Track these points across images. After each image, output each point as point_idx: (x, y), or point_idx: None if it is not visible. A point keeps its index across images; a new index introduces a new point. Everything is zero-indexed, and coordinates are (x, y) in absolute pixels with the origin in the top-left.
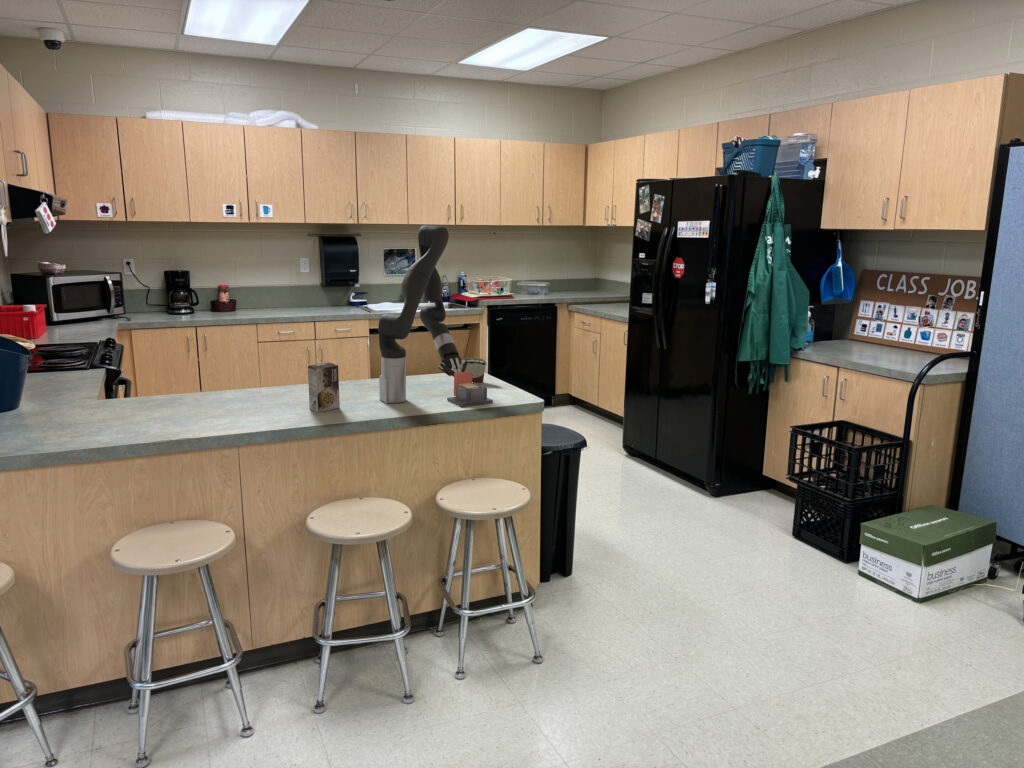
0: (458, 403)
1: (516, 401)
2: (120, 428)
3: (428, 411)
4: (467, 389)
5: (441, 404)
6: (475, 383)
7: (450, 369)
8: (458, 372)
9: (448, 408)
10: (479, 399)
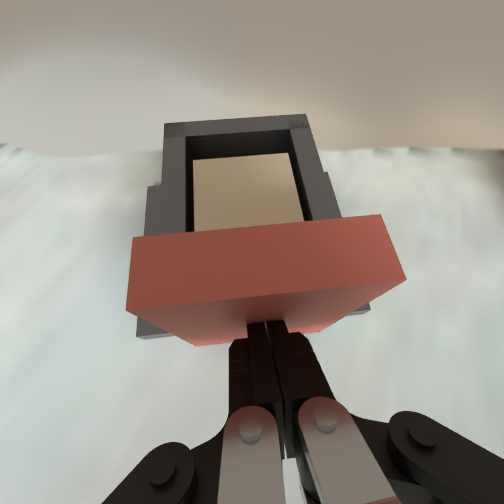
0: (333, 196)
1: (35, 186)
2: None
3: (479, 175)
4: (305, 122)
5: (407, 254)
6: None
7: (475, 500)
8: (333, 284)
9: (384, 186)
10: None
